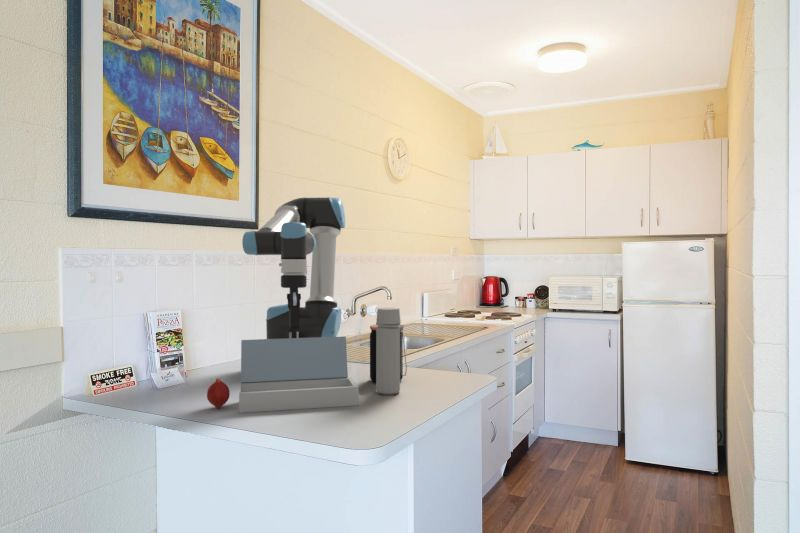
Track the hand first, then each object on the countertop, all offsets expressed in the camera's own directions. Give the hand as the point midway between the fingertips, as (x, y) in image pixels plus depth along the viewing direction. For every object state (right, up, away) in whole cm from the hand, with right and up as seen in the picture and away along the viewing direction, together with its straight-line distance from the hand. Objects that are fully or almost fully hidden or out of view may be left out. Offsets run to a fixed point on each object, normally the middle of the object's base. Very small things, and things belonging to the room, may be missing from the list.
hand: (293, 353), depth 166 cm
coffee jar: (+27, -12, +15) cm, 33 cm away
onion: (-17, -12, -18) cm, 27 cm away
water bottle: (+29, -12, -1) cm, 31 cm away
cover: (+2, -6, -7) cm, 10 cm away
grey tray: (+3, -12, -13) cm, 18 cm away
